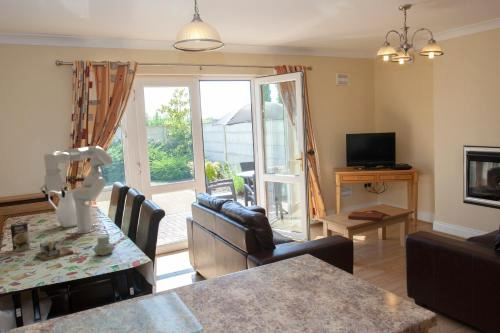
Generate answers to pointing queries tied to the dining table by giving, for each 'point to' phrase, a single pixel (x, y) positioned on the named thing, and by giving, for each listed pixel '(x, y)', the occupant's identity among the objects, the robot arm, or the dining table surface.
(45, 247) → the open ended gray sleeve
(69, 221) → the pitcher
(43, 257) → the board
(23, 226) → the coffee box
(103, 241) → the air freshener
